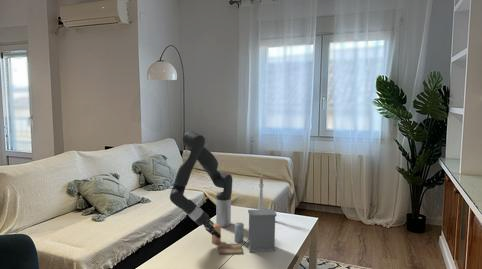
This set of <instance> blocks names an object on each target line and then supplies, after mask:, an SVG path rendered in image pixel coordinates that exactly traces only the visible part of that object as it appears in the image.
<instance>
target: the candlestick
mask: <svg viewBox="0 0 482 269" xmlns="http://www.w3.org/2000/svg"><path fill="white" fill-rule="evenodd" d="M264 185H265V184H264V175H263V174H260V175H259V184H258V187H259V194H258V195H259V196H258V197H259V198H258V208H257V210H263V209H264V194H263V193H264V192H263V189H264Z"/></svg>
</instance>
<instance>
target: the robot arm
mask: <svg viewBox="0 0 482 269" xmlns="http://www.w3.org/2000/svg"><path fill="white" fill-rule="evenodd" d="M182 143H183V146H184V147H186V148H187V149H188V150H189V151H190V153H189V156H188V158H187V159H186V160H185V161H184V162H183V163H182V164H181V165H180V166H179V168H178V169H177V170H178V171H177V173H176V176H175V179H174V183H173V185H172V188H171V190H170V194H169V200H170V202H171V203H172V204H173V205H174V206H176V207H178V208H179V209H181V210H182V211H183V212H184V213H185V214H186V215H188V217H189V218H190V219H191V220H192V221H194V222H195V224H197V225H198V226H199V227H200V226H204V228H205V231H206V232H208V233H209V234H210V235H211V236H212V235H215V236H216V237H217V238H220V237H221V238H222V234H221V235H220V234H219V233H218V232H217V231H216V230H215V229H214V226H213V225H212V224H216V223H217V224H220V225H221V228H227V227H230V226H231V225H232V219H231V218H232V214H231V213H232V193H233V175H231V174H230V173H223V172H220V171H219V170H218V167H219V163H218V160H217V158H216V157H215V155H214V154H213V153H212V152H211V151H210V150H208V149H207V148H206V147H205V144H206V138H205V137H204V136H203V135H202V134H200V133H197V132H196V131H195V132H194V131H191V130H189V131H186V132H185V133H184V134H183V136H182ZM197 162H198V163H199V165H200V166H201V167H202V168H203V169H204V171H205V172H206V173H207V175H208V176H209V178H210V179H211V182H212V183H213V185H214V186H215V187H217V188H221V189H223V190H222V191H220V192H218V193H216V196H215V198H216V202H215V203H216V204H215V208H216V214H215V215H216V217H215V219H216V220H215V223H214V222H213V221H212V220H211V219H210V217H209V214H208V213H207V212H205V211H204V210H203V209H202V208H201V207H200V206H198V204H196V203H195V202H194V201H193V200H191V199H189V198H187V197H186V196H185V194H184V193H185V189H186V187H187V185H188V182H189V180H190V177H191V174H192V171H193V169H194V167H195V165H196V163H197ZM212 231H214V232H212Z"/></svg>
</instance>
